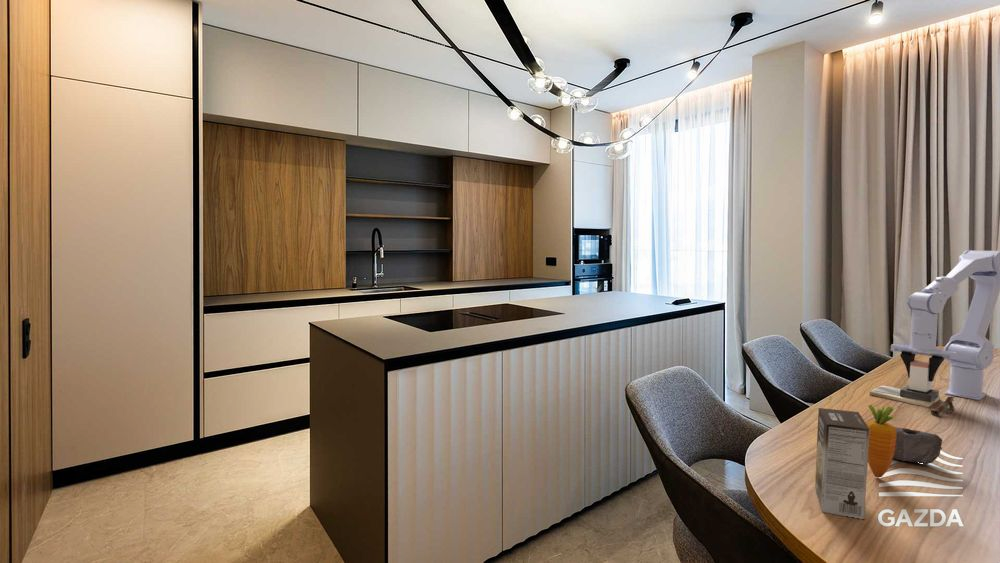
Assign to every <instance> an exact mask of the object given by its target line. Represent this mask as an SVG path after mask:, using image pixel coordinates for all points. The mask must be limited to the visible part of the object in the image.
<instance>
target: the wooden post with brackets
mask: <svg viewBox="0 0 1000 563" xmlns="http://www.w3.org/2000/svg"><path fill="white" fill-rule="evenodd" d="M954 401H955V398H954V397H953V396H948V397H947V398H946V399H945V401H943V402H941V403H940V404H939V406H938V407H936V408H931V409H930V410H929V411H930V414H931V415H934V416H937V417H940V416H941V415H940V414H941V412H942V411H943V414H945V415H946V414H947V415H948V414H950V413H952V412H955V406H954V405H953V402H954ZM948 406H949V408H947V407H948Z"/></svg>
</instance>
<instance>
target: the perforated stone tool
mask: <svg viewBox="0 0 1000 563" xmlns="http://www.w3.org/2000/svg"><path fill="white" fill-rule="evenodd" d="M894 427H895V428H896V431H897V435H896V445H895V452H894V455H893V459H892V460H895V459H898V460H897V461H899V460H903V461H909V462H908V463H917V462H919V463H923V464H926V465H925V466H927V465H929V464H932V463H934V461H935V460H937V458H938V457H939V456H940V455H941V451H942V450H943V447H942V443H943V439H942V438H941V437H940V436H939V435H938V434H935V433H930V432H927V431H926V432H925V431H921V430H916V429H910V428H905V427H897V426H894ZM903 461H902V462H903Z"/></svg>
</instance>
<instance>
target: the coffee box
mask: <svg viewBox="0 0 1000 563" xmlns="http://www.w3.org/2000/svg"><path fill="white" fill-rule="evenodd" d="M817 413H818V418H817V432H816V433H817V438H816V454H815V458H816V461H815V462H816V463H815V477H814V478H815V479H814V480H815V481H814V482H815V484H814V485H815V486H814V488H815V489H814V490H815V491H816V496H817V499H818V502H819V505H820V508H821V509H820V510H821V511H822V512H823V513H827V514H832V515H835V516H836V515H837V516H840V517H842V516H843V517H846V516H848V518H852V517H854V519H857V518H859V519H858V520H862V519H864V520H865V511H866V491H867V480H868V479H867V477H868V466H869V463H868V450H869V434H870V429H869V427H868V426H867V424H866V423H867V422H866V421H865V420H864V418H863V416H861V414H860V412H859V411H851V410H842V409H835V408H833V409H831V408H822V407H820V408H818V412H817Z"/></svg>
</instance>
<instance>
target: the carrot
mask: <svg viewBox="0 0 1000 563" xmlns="http://www.w3.org/2000/svg"><path fill="white" fill-rule="evenodd" d="M867 407H868V408H869V409H870V411H871V414H872V416H873V418H874V419H873V420H870V421H867V422H865V423H866V424H867V426H868V427H869V429H870V434H869V450H868V466H869V468H870V470H871V472H872V474H873V476H874V477H875V478H876V477H881V478H882V477H883V476H884V475H885V474H886V473H887V471H888V469H889V468H890V466H891V464H892V462H893V460H894V459H893V455H894V452H895V445H896V435H897V431H896V428H895V427H896V426H893V424H891V423H889V422H888V421H891V420H892V419H894V416H893V415H891V414H892V412H893V411H894V410H895V408H894V407H892V406H891V405H888V406H887V407H884V406H881V407H880V408H879V409H878V410H877V411H876V409H875V407H874V406H873V404H868V405H867Z"/></svg>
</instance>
